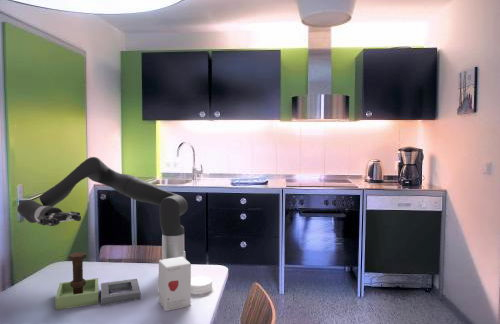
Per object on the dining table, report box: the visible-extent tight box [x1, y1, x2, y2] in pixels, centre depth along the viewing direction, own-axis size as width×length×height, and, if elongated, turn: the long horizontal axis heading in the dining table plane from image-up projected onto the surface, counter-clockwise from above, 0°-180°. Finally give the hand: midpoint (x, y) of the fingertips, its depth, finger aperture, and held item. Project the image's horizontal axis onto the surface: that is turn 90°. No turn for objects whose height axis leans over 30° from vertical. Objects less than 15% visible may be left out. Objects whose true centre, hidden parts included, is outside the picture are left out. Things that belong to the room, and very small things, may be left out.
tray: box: [54, 277, 99, 311], centre depth 127 cm, size 13×14×4 cm
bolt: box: [67, 251, 87, 294], centre depth 127 cm, size 6×5×15 cm
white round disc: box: [191, 275, 213, 296], centre depth 136 cm, size 10×10×4 cm
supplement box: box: [158, 257, 192, 312], centre depth 123 cm, size 9×9×15 cm
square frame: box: [100, 278, 142, 306], centre depth 131 cm, size 13×14×2 cm
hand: (68, 220), depth 135 cm, fingers open, 8 cm apart
